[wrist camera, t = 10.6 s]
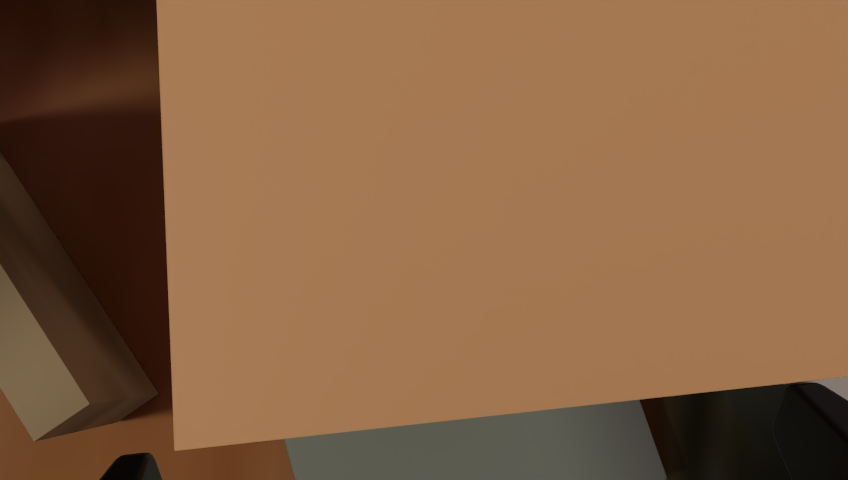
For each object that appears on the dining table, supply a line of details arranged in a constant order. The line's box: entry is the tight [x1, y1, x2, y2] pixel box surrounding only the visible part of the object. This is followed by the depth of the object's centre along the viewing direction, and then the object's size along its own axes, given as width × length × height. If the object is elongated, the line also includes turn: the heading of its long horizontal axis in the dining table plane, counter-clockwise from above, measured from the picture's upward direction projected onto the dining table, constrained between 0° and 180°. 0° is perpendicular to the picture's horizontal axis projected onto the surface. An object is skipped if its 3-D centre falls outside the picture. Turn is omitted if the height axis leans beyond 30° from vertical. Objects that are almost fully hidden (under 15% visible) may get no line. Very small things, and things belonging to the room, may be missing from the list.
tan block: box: [156, 0, 848, 451], centre depth 12 cm, size 5×5×14 cm
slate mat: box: [284, 400, 667, 480], centre depth 19 cm, size 14×9×1 cm, turn 17°
